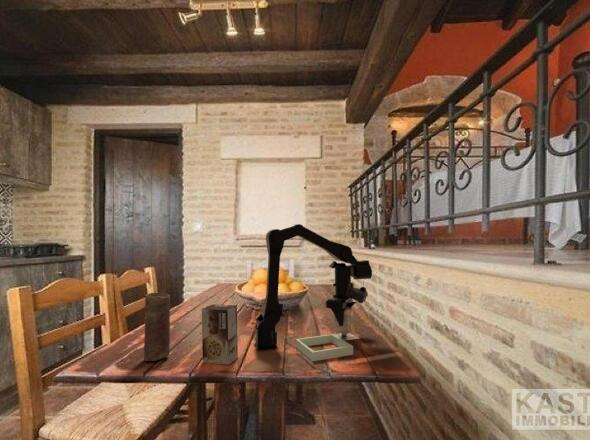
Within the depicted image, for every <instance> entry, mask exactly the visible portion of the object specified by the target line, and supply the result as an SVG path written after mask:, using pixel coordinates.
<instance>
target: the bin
mask: <svg viewBox="0 0 590 440" xmlns="http://www.w3.org/2000/svg"><path fill="white" fill-rule="evenodd" d="M333 334H334V333H330V334H323V335H316V336H309V337H301V338H295V351H296V352H297V353H298V354H300V355H301V356H302V357H303V358H304V359H305V360H307V361H308V362H309V364H311V365H312V366H314V365H315V362H317V361H318V362H319V361H322V360H323V361H324V360H330V359H335V358H336V359H337V358H342V357H347V356H353V355H354V345H352V344H351V343H349V342H347V341H344V340H342V339H340V338H338V337H337V336H335V335H333ZM331 343H332V344H333V345H335V346H336V347H333V348H327V349H326V348H325V349H320V350H313V349H312V348H310V346H316V345H317V346H319V345H325V344H331Z"/></svg>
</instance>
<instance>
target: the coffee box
mask: <svg viewBox="0 0 590 440" xmlns="http://www.w3.org/2000/svg"><path fill="white" fill-rule="evenodd" d="M201 337H202V338H201V342H202V343H201V345H202V347H201V348H202V351H201V352H202V354H201V355H202V363H206V364H220V365H230V364H232V363H233V362H234V361H235V360H237V359H238V358H239V356H238V355H239V354H238V349H239V347H238V305H237V304H236V305H235V304H210V305H208V306H205V307H203V308H201Z"/></svg>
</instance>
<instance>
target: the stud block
mask: <svg viewBox="0 0 590 440" xmlns="http://www.w3.org/2000/svg"><path fill="white" fill-rule="evenodd" d="M332 334H333V335H335V336H337V337H338V338H340V339H342V340H344V341H345V342H347V341H351V340H357V339H358V340H359V339H360V337H358V336H356V335H354V334H352V333H351V332H350V333H349V334H346V333H339V332H338V333H332Z"/></svg>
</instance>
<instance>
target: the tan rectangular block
mask: <svg viewBox="0 0 590 440" xmlns="http://www.w3.org/2000/svg"><path fill="white" fill-rule="evenodd" d="M333 315H334V314H333ZM353 331H354V307H352V308H350V307H348V308H347V309H346V310H345V312H344V321H343V326H340V325H339V323H338V321H337V319H336V317H335V315H334V333H338V334H339V333H346V334H349V333H351V332H353Z"/></svg>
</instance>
